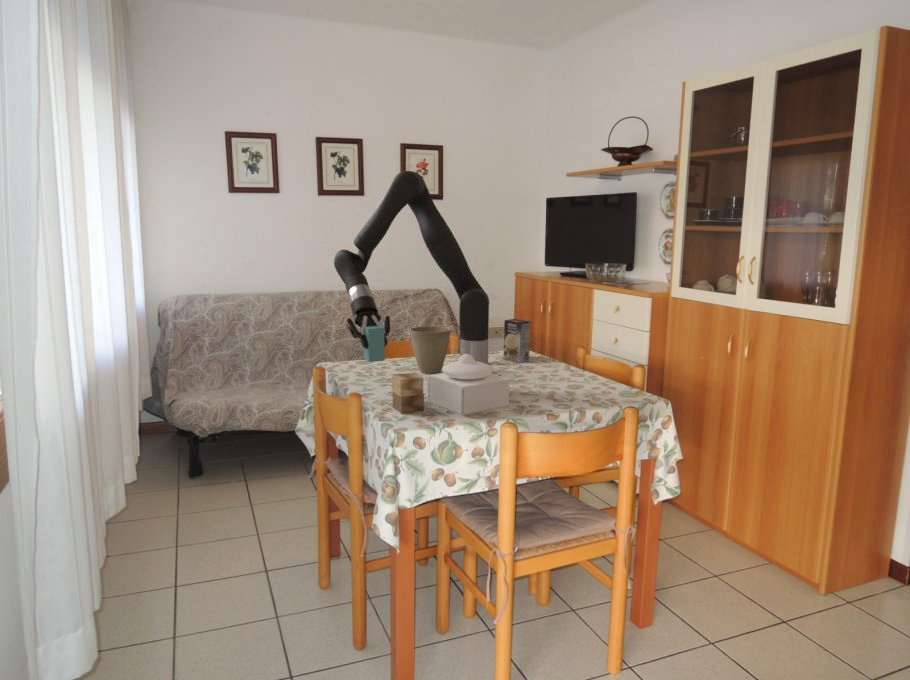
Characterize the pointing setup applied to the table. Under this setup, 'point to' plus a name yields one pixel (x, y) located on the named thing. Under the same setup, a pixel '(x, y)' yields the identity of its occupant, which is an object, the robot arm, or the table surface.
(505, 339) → the coffee box
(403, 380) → the oak block
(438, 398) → the butter dish
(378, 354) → the teal pillar
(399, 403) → the walnut block
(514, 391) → the table surface
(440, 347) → the plant pot
